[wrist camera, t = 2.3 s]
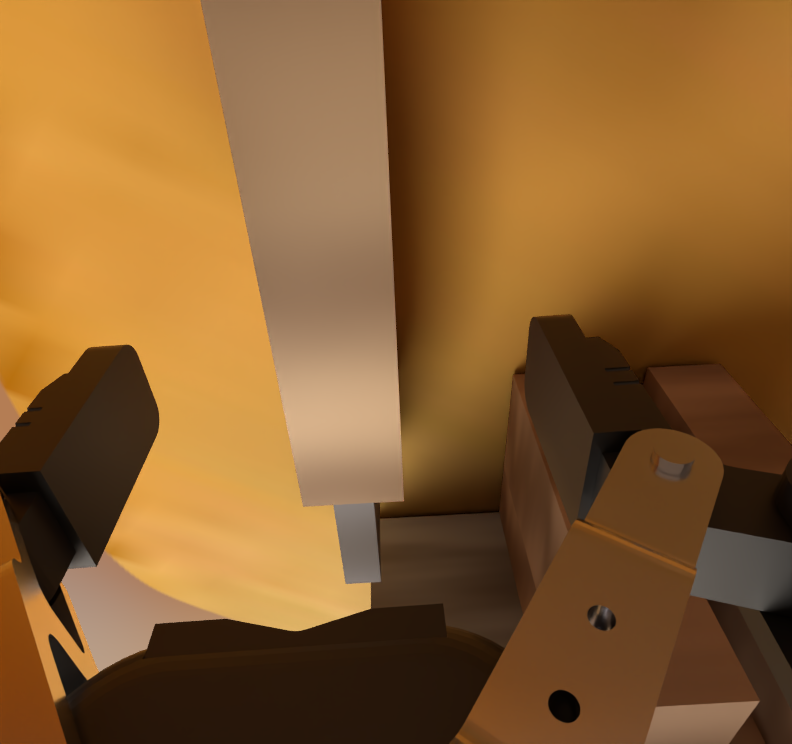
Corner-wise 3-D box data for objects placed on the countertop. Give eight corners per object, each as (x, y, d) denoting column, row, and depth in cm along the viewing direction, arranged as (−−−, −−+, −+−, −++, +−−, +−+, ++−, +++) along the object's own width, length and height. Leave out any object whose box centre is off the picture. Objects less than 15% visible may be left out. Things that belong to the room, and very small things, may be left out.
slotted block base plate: (357, 382, 22) (317, 1627, 5) (874, 355, 22) (2336, 1491, 6) (373, 540, 27) (376, 1382, 11) (783, 518, 27) (1379, 1318, 11)
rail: (248, -84, 13) (177, -110, 9) (374, -90, 13) (375, -120, 9) (329, 459, 24) (319, 585, 19) (399, 455, 24) (407, 580, 19)
